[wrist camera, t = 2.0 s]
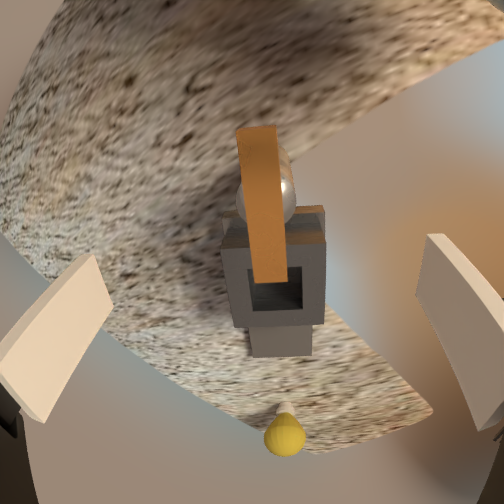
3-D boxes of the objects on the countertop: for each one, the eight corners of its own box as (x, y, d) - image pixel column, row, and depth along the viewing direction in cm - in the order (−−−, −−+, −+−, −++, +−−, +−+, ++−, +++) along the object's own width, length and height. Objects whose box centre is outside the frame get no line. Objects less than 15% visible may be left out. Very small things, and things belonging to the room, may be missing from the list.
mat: (244, 295, 36) (244, 300, 35) (312, 292, 35) (312, 297, 34) (253, 352, 41) (253, 357, 40) (311, 350, 40) (311, 355, 39)
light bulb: (258, 404, 47) (253, 453, 39) (288, 390, 45) (287, 443, 36) (283, 418, 49) (281, 464, 40) (312, 405, 47) (314, 455, 38)
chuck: (224, 211, 31) (212, 239, 25) (322, 205, 30) (332, 232, 24) (238, 297, 36) (231, 334, 31) (322, 293, 35) (328, 331, 29)
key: (247, 118, 26) (220, 133, 14) (285, 114, 26) (291, 126, 14) (257, 206, 31) (241, 283, 19) (292, 203, 30) (300, 280, 18)
